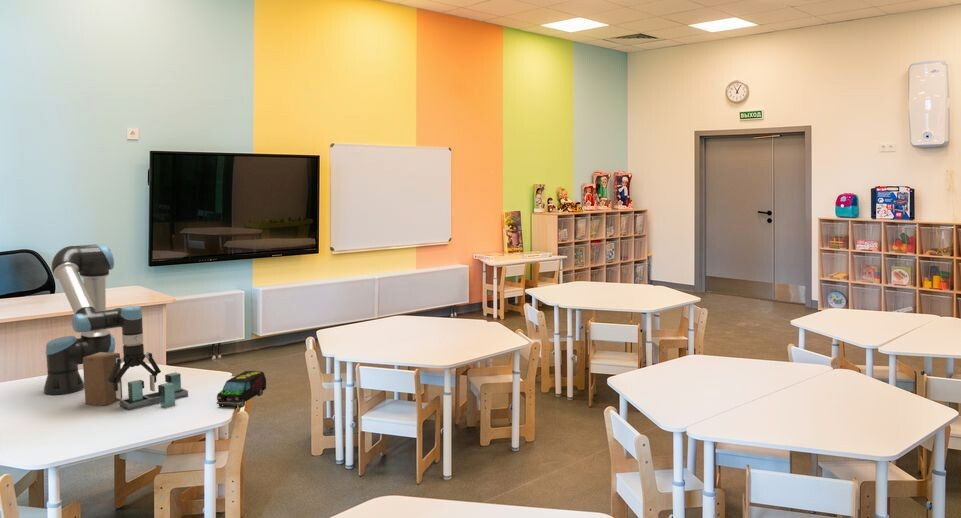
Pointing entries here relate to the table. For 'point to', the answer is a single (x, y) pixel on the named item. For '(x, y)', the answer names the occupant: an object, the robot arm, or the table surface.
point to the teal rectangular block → (135, 391)
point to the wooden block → (100, 378)
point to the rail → (157, 394)
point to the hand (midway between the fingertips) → (135, 394)
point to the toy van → (242, 388)
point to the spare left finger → (167, 394)
